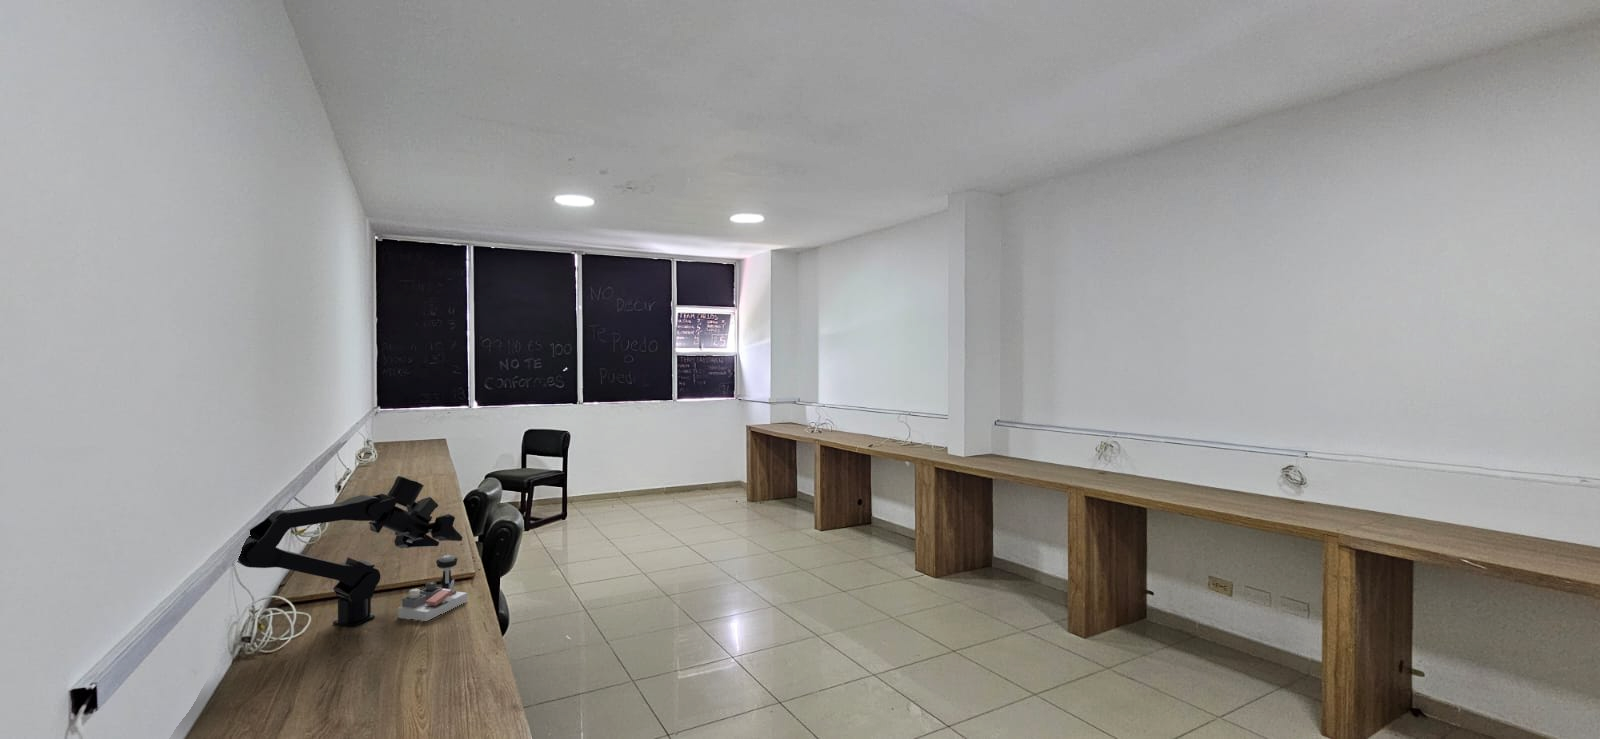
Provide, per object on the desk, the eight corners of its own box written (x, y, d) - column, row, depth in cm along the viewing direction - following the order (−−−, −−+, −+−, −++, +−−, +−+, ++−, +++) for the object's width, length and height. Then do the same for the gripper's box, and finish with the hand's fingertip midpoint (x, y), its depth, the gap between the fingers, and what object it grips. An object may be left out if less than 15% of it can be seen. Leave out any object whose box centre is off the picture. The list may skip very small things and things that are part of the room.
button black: (431, 592, 180) (431, 585, 180) (423, 591, 181) (423, 584, 181) (438, 589, 183) (438, 582, 183) (430, 588, 183) (430, 581, 183)
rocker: (435, 605, 175) (434, 602, 175) (426, 604, 176) (425, 600, 176) (452, 592, 181) (452, 589, 180) (443, 591, 181) (443, 588, 181)
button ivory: (414, 600, 175) (414, 592, 175) (406, 599, 176) (406, 591, 176) (421, 597, 177) (421, 589, 177) (414, 595, 178) (414, 588, 178)
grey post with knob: (435, 588, 195) (435, 553, 195) (456, 585, 198) (456, 551, 197) (436, 596, 189) (436, 560, 189) (458, 593, 192) (458, 557, 191)
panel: (427, 622, 172) (427, 598, 172) (398, 617, 174) (398, 594, 174) (468, 602, 186) (468, 580, 185) (440, 598, 188) (440, 576, 188)
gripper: (436, 486, 182) (482, 508, 193) (388, 499, 189) (435, 520, 200) (422, 526, 175) (470, 547, 187) (373, 538, 182) (423, 557, 193)
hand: (449, 541), depth 192 cm, fingers open, 9 cm apart
